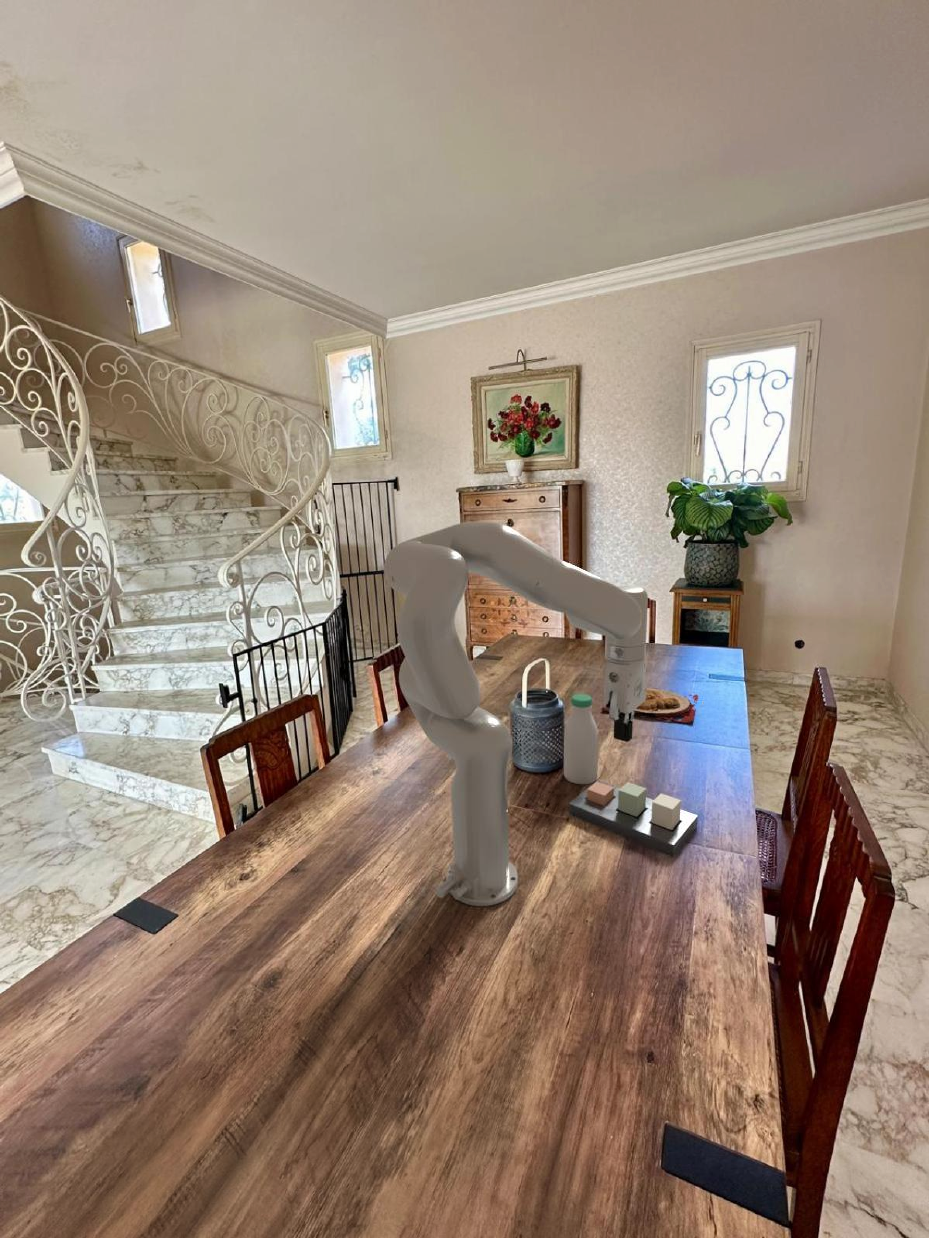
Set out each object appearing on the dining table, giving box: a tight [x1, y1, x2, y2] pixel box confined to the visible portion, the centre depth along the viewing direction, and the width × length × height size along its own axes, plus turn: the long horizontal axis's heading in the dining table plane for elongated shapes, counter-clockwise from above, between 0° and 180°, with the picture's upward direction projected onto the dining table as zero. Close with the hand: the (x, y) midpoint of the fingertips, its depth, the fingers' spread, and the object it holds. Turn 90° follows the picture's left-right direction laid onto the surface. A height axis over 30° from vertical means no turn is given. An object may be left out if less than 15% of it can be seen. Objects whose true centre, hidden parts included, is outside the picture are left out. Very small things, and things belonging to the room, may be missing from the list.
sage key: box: [618, 781, 647, 818], centre depth 113 cm, size 4×4×4 cm
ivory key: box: [651, 793, 682, 831], centre depth 108 cm, size 4×4×4 cm
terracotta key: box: [586, 781, 614, 806], centre depth 118 cm, size 4×4×4 cm
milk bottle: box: [563, 693, 599, 785], centre depth 129 cm, size 8×8×20 cm
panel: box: [568, 779, 698, 858], centre depth 114 cm, size 12×22×3 cm, turn 48°
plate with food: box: [600, 687, 699, 723], centre depth 173 cm, size 24×26×4 cm
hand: (622, 738), depth 112 cm, fingers closed
